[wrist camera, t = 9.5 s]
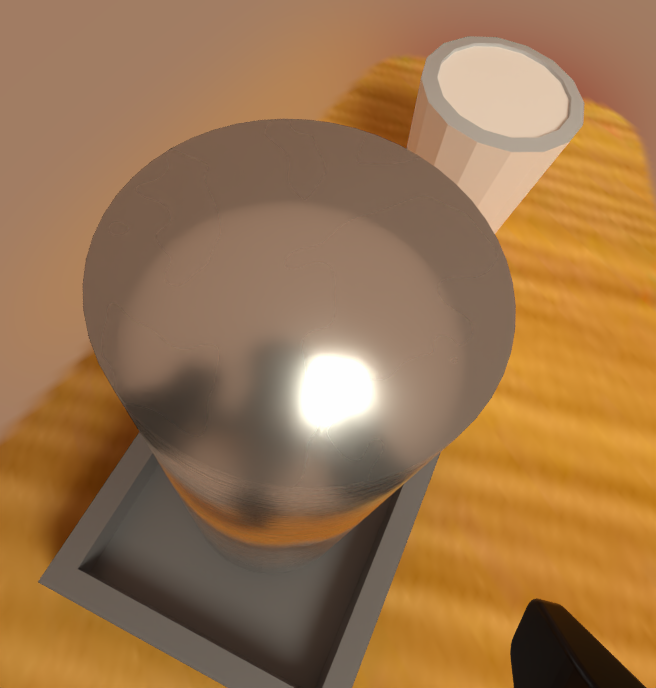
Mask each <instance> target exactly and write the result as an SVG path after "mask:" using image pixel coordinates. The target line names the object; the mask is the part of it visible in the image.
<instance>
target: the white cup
mask: <svg viewBox="0 0 656 688" xmlns="http://www.w3.org/2000/svg"><path fill="white" fill-rule="evenodd" d="M583 116H584V102H583V99H582V97H581V95H580V93H579V91H578V89H577V87H576V85H575V83H574V81H573V80H572V79H571V78H570V77H569V76H568V75H567V74H566V73H565V72H564V71H563V70H562V69H561V68H560V67H559V66H558V65H557V64H556V63H555V62H554V61H553V60H551V59H549V58H547V57H545V56H544V55H542V54H540V53H538V52H537V51H535V50H533V49H531V48H530V47H528V46H525V45H522V44H518V43H515V42H511V41H508V40H505V39H501V38H497V37H470V36H468V37H464V38H461V39H457V40H454V41H450V42H447V43H443V44H442V45H441V46H440V47H439V48H438V49H436V50H435V51H434V52H433V53H432V54H431V55H429V56H428V57H427V59H426V63H425V66H424V70H423V73H422V77H421V81H420V86H419V91H418V96H417V100H416V105H415V110H414V115H413V120H412V124H411V129H410V134H409V139H408V144H407V148H406V149H407V150H409V151H411V152H413V153H415V154H417V155H418V156H420V157H421V158H423V159H424V160H426V161H427V162H429V163H430V164H432V165H433V166H435V167H436V168H437V169H439V170H440V171H441V172H442V173H444V174H445V175H446V176H447V177H448V178H449V179H451V180H452V181H453V182H454V183H455V184H456V185H457V186H458V187H459V188H460V189H461V190H462V191H463V192H464V193H465V194H466V195H467V196H468V197H469V198H470V199H471V200H472V202H473V203H474V204H475V206H476V207H477V208H478V209H479V211H480V212H481V213H482V215H483V216H484V217H485V219H486V220H487V222H488V224H489V225H490V227H491V229H492V231H493V232H494V234H495V233H496V232H497V230H498V229H499V228H500V227H501V225H502V224H503V223H504V222H505V220H506V219H507V218H508V217H509V216H510V214H511V213H512V212H513V211H514V209H515V208H516V207H517V206H518V204H519V203H520V202H521V201H522V200H523V198H524V197H525V196H526V195H527V193H528V192H529V191H530V190H531V188H532V187H533V186H534V185H535V184H536V182H537V181H538V180H539V179H540V177H541V176H542V175H543V174H544V172H545V171H546V170H547V169H548V168H549V166H550V165H551V164H552V163H553V161H554V160H555V159H556V158H557V156H558V155H559V154H560V153H561V152H562V150H563V149H564V148H565V147H566V145H567V144H568V143H569V142H570V140H571V139H572V138H573V137H574V135H575V134H576V133H577V132H578V130H579V129H580V128H581V127H582V125H583Z"/></svg>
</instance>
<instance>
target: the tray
mask: <svg viewBox="0 0 656 688" xmlns="http://www.w3.org/2000/svg"><path fill="white" fill-rule="evenodd" d="M439 455H440V453H439V454H437V455H436V456H435V457H434V458H433V459H432V460H431V461H429V462H428V463H427V464H426V465H425V466H424V467H423V468H421V469H420V470H419V471H418V472H417V473H416V474H415V475H413V476H412V477H411V478H410V479H409V480H408V481H407V482H405V483H404V484H403V485H402V486H401V487H400V488H399V489H397V490H396V491H395V492H394V493H393V494H392V495H391V496H389V497H388V498H387V499H386V500H385V501H384V502H383V503H381V504H380V505H379V506H378V507H377V508H376V509H375V510H374V511H372V512H371V513H370V514H369V515H368V516H367V517H366V518H364V519H363V520H362V521H361V522H360V523H359V524H358V525H356V526H355V527H354V528H353V529H352V530H351V531H350V532H348V533H347V534H346V535H345V536H344V537H343V538H342V539H340V540H339V541H338V542H337V543H336V544H335V545H334V546H332V547H331V548H330V549H329V550H328V551H327V552H326V553H324V554H323V555H322V556H321V557H319V558H318V559H317V560H315V561H314V562H312V563H310V564H308V565H306V566H304V567H302V568H299V569H296V570H294V571H289V572H285V573H276V574H267V573H258V572H253V571H249V570H246V569H243V568H240V567H238V566H236V565H234V564H233V563H231V562H229V561H228V560H226V559H225V558H224V557H222V556H221V555H220V554H219V553H218V552H217V551H216V550H215V549H214V548H213V547H212V546H211V545H210V544H209V542H208V541H207V540H206V538H205V537H204V535H203V533H202V532H201V530H200V528H199V527H198V525H197V524H196V522H195V520H194V519H193V517H192V516H191V514H190V512H189V511H188V509H187V507H186V506H185V504H184V503H183V501H182V499H181V498H180V496H179V494H178V493H177V491H176V490H175V488H174V486H173V485H172V483H171V482H170V480H169V478H168V477H167V475H166V473H165V472H164V470H163V469H162V467H161V465H160V464H159V462H158V460H157V459H156V457H155V456H154V454H153V452H152V451H151V449H150V448H149V446H148V444H147V443H146V441H145V439H144V438H143V436H142V435H141V433H140V432H139V433H138V435H137V436H136V438H135V439H134V441H133V442H132V444H131V445H130V447H129V448H128V450H127V451H126V453H125V454H124V456H123V457H122V459H121V460H120V461H119V463H118V464H117V466H116V467H115V469H114V470H113V472H112V473H111V475H110V476H109V478H108V479H107V481H106V482H105V484H104V485H103V487H102V488H101V490H100V491H99V493H98V494H97V495H96V497H95V498H94V500H93V501H92V503H91V504H90V506H89V507H88V509H87V510H86V512H85V513H84V515H83V516H82V518H81V519H80V521H79V522H78V524H77V525H76V527H75V528H74V530H73V531H72V532H71V534H70V535H69V537H68V538H67V540H66V541H65V543H64V544H63V546H62V547H61V549H60V550H59V552H58V553H57V555H56V556H55V558H54V559H53V561H52V562H51V564H50V565H49V566H48V568H47V569H46V571H45V572H44V574H43V575H42V577H41V578H40V580H39V581H38V582H39V583H40V584H42V585H44V586H46V587H48V588H49V589H51V590H53V591H55V592H57V593H58V594H60V595H62V596H64V597H66V598H67V599H69V600H71V601H73V602H75V603H76V604H78V605H80V606H82V607H84V608H85V609H87V610H89V611H91V612H93V613H94V614H96V615H98V616H100V617H102V618H103V619H105V620H107V621H109V622H111V623H112V624H114V625H116V626H118V627H120V628H121V629H123V630H125V631H127V632H129V633H130V634H132V635H134V636H136V637H138V638H139V639H141V640H143V641H145V642H147V643H148V644H150V645H152V646H154V647H156V648H157V649H159V650H161V651H163V652H165V653H166V654H168V655H170V656H172V657H174V658H175V659H177V660H179V661H181V662H183V663H184V664H186V665H188V666H190V667H192V668H193V669H195V670H197V671H199V672H201V673H202V674H204V675H206V676H208V677H210V678H211V679H213V680H215V681H217V682H219V683H220V684H222V685H224V686H226V687H228V688H352V686H353V683H354V681H355V678H356V675H357V673H358V670H359V667H360V665H361V662H362V660H363V657H364V654H365V652H366V649H367V646H368V644H369V641H370V638H371V636H372V633H373V630H374V628H375V625H376V622H377V620H378V617H379V614H380V612H381V609H382V606H383V604H384V601H385V598H386V596H387V593H388V590H389V588H390V585H391V582H392V580H393V577H394V575H395V572H396V569H397V567H398V564H399V561H400V559H401V556H402V553H403V551H404V548H405V545H406V543H407V540H408V537H409V535H410V532H411V529H412V527H413V524H414V521H415V519H416V516H417V513H418V511H419V508H420V505H421V503H422V500H423V497H424V495H425V492H426V490H427V487H428V484H429V482H430V479H431V476H432V474H433V471H434V468H435V466H436V463H437V460H438V458H439Z"/></svg>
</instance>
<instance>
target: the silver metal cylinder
mask: <svg viewBox="0 0 656 688" xmlns="http://www.w3.org/2000/svg"><path fill="white" fill-rule="evenodd" d="M83 309H84V316H85V321H86V325H87V331H88V336H89V339H90V342H91V344H92V347H93V350H94V352H95V355H96V358H97V360H98V363H99V365H100V366H101V368H102V370H103V372H104V374H105V375H106V377H107V379H108V381H109V382H110V384H111V386H112V388H113V389H114V391H115V392H116V394H117V396H118V397H119V399H120V401H121V402H122V404H123V405H124V407H125V409H126V410H127V412H128V414H129V415H130V417H131V418H132V420H133V422H134V423H135V425H136V426H137V428H138V430H139V431H140V433H141V435H142V436H143V438H144V439H145V441H146V443H147V444H148V446H149V448H150V449H151V451H152V452H153V454H154V456H155V457H156V459H157V460H158V462H159V464H160V465H161V467H162V469H163V470H164V472H165V473H166V475H167V477H168V478H169V480H170V482H171V483H172V485H173V486H174V488H175V490H176V491H177V493H178V494H179V496H180V498H181V499H182V501H183V503H184V504H185V506H186V507H187V509H188V511H189V512H190V514H191V516H192V517H193V519H194V520H195V522H196V524H197V525H198V527H199V528H200V530H201V532H202V533H203V535H204V537H205V538H206V540H207V541H208V542H209V544H210V545H211V546H212V547H213V548H214V549H215V550H216V551H217V552H218V553H219V554H220V555H221V556H222V557H224V558H225V559H226V560H228V561H229V562H231V563H233V564H234V565H236V566H238V567H240V568H243V569H246V570H249V571H253V572H258V573H267V574H276V573H285V572H289V571H294V570H296V569H299V568H302V567H304V566H306V565H308V564H310V563H312V562H314V561H315V560H317V559H318V558H319V557H321V556H322V555H323V554H324V553H326V552H327V551H328V550H329V549H330V548H331V547H332V546H334V545H335V544H336V543H337V542H338V541H339V540H340V539H342V538H343V537H344V536H345V535H346V534H347V533H348V532H350V531H351V530H352V529H353V528H354V527H355V526H356V525H358V524H359V523H360V522H361V521H362V520H363V519H364V518H366V517H367V516H368V515H369V514H370V513H371V512H372V511H374V510H375V509H376V508H377V507H378V506H379V505H380V504H381V503H383V502H384V501H385V500H386V499H387V498H388V497H389V496H391V495H392V494H393V493H394V492H395V491H396V490H397V489H399V488H400V487H401V486H402V485H403V484H404V483H405V482H407V481H408V480H409V479H410V478H411V477H412V476H413V475H415V474H416V473H417V472H418V471H419V470H420V469H421V468H423V467H424V466H425V465H426V464H427V463H428V462H429V461H431V460H432V459H433V458H434V457H435V456H436V455H437V454H439V453H440V452H441V451H442V450H443V449H444V448H445V447H447V446H448V445H449V444H450V443H451V442H452V441H453V440H455V439H456V438H457V437H458V436H459V435H460V434H461V433H462V432H463V431H464V430H465V429H466V428H467V427H468V426H469V425H470V424H471V423H472V422H473V421H474V420H475V419H476V418H477V416H478V415H479V414H480V412H481V411H482V410H483V408H484V407H485V406H486V404H487V403H488V402H489V400H490V399H491V398H492V396H493V394H494V392H495V390H496V388H497V386H498V384H499V382H500V380H501V379H502V377H503V374H504V371H505V369H506V366H507V363H508V360H509V357H510V354H511V350H512V344H513V338H514V332H515V297H514V290H513V282H512V278H511V275H510V271H509V268H508V264H507V260H506V258H505V256H504V253H503V251H502V249H501V246H500V244H499V242H498V239H497V237H496V236H495V234H494V232H493V231H492V229H491V227H490V225H489V224H488V222H487V220H486V219H485V217H484V216H483V215H482V213H481V212H480V211H479V209H478V208H477V207H476V206H475V204H474V203H473V202H472V200H471V199H470V198H469V197H468V196H467V195H466V194H465V193H464V192H463V191H462V190H461V189H460V188H459V187H458V186H457V185H456V184H455V183H454V182H453V181H452V180H451V179H449V178H448V177H447V176H446V175H445V174H444V173H442V172H441V171H440V170H439V169H437V168H436V167H435V166H433V165H432V164H430V163H429V162H427V161H426V160H424V159H423V158H421V157H420V156H418V155H417V154H415V153H413V152H411V151H409V150H407V149H406V148H404V147H402V146H400V145H398V144H396V143H394V142H391V141H389V140H387V139H384V138H382V137H380V136H377V135H374V134H371V133H368V132H365V131H362V130H359V129H356V128H352V127H348V126H343V125H339V124H335V123H329V122H322V121H314V120H302V119H274V120H258V121H252V122H245V123H239V124H235V125H230V126H227V127H223V128H219V129H215V130H212V131H209V132H207V133H204V134H201V135H199V136H196V137H193V138H191V139H189V140H187V141H185V142H183V143H181V144H179V145H177V146H175V147H173V148H171V149H169V150H168V151H166V152H165V153H163V154H162V155H161V156H159V157H157V158H156V159H154V160H153V161H151V162H150V163H149V164H148V165H147V166H145V167H144V168H143V169H142V170H141V171H139V172H138V173H137V174H136V175H135V176H134V177H132V179H131V180H130V181H129V182H128V183H127V184H126V185H125V186H124V187H123V189H122V190H121V191H120V192H119V193H118V194H117V195H116V197H115V198H114V200H113V201H112V203H111V204H110V206H109V207H108V209H107V210H106V212H105V213H104V215H103V217H102V219H101V221H100V223H99V225H98V227H97V230H96V231H95V233H94V235H93V238H92V242H91V245H90V248H89V252H88V255H87V258H86V264H85V271H84V279H83Z"/></svg>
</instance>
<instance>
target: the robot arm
mask: <svg viewBox="0 0 656 688" xmlns="http://www.w3.org/2000/svg"><path fill="white" fill-rule="evenodd" d="M510 655H511V665H512V674H513V683H514V688H646V687H645V686H644V685H643V684H642V683H641V682H640V681H639V680H638V679H637V678H636V677H635V676H634V675H633V674H632V673H631V672H630V671H629V670H628V669H627V668H625V667H624V666H623V665H622V664H621V663H620V662H619V661H618V660H617V659H616V658H615V657H614V656H613V655H612V654H611V653H610V652H609V651H608V650H607V649H606V648H605V647H604V646H603V645H602V644H601V643H600V642H599V641H598V640H597V639H596V638H595V637H594V636H593V635H592V634H591V633H590V632H589V631H588V630H587V629H585V628H584V627H583V626H582V625H581V624H580V623H579V622H578V621H577V620H576V619H575V618H574V617H573V616H572V615H571V614H570V613H569V612H568V611H567V610H566V609H565V608H564V607H563V606H561V605H559V604H557V603H553V602H549V601H545V600H541V599H533V600H532V601H531V602H530V603H529V604H528V606H527V608H526V610H525V612H524V615H523V617H522V619H521V621H520V623H519V626H518V628H517V630H516V632H515V634H514V637H513V639H512V643H511V652H510Z"/></svg>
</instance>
